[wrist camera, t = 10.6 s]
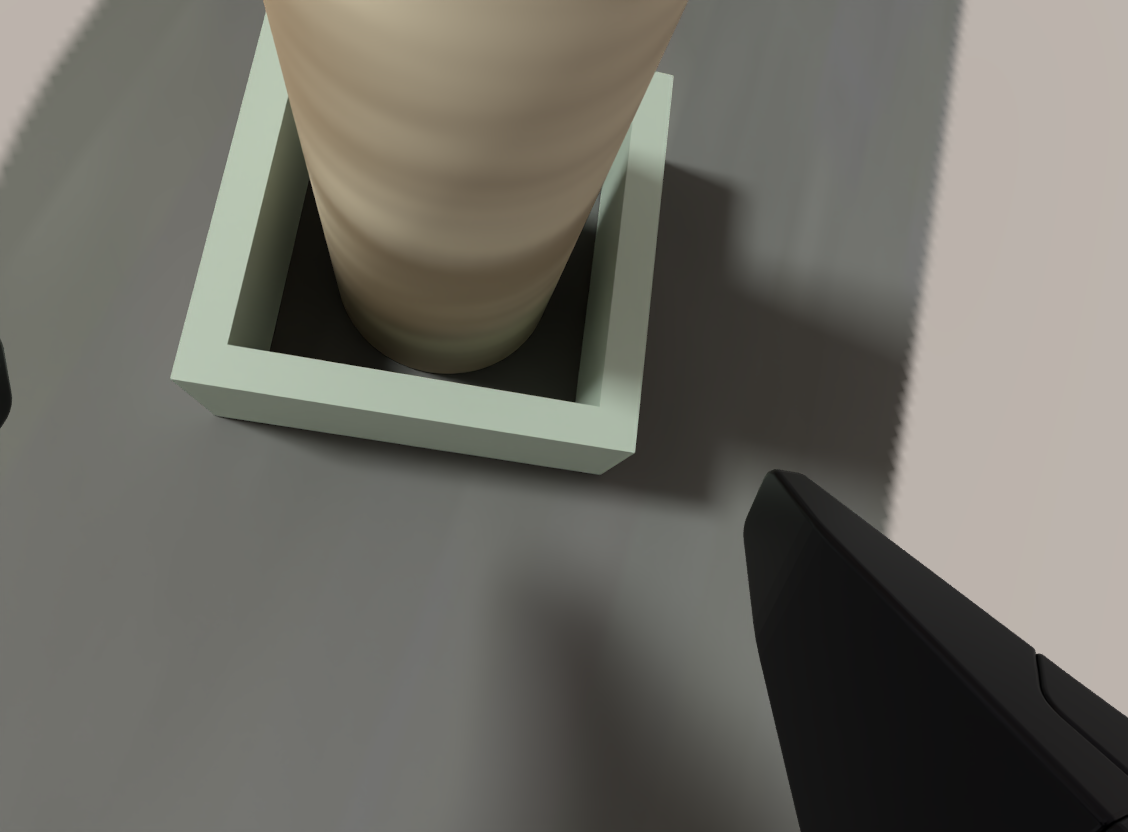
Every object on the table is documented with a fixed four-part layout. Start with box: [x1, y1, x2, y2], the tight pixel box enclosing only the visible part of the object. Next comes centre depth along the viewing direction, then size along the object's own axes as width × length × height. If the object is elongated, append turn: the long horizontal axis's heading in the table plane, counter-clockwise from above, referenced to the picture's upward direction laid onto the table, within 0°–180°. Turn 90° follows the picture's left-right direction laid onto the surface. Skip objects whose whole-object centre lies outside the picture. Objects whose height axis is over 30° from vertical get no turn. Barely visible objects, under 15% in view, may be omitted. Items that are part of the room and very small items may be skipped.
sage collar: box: [170, 13, 673, 475], centre depth 17 cm, size 9×9×3 cm
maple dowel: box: [263, 0, 688, 374], centre depth 12 cm, size 5×5×13 cm
